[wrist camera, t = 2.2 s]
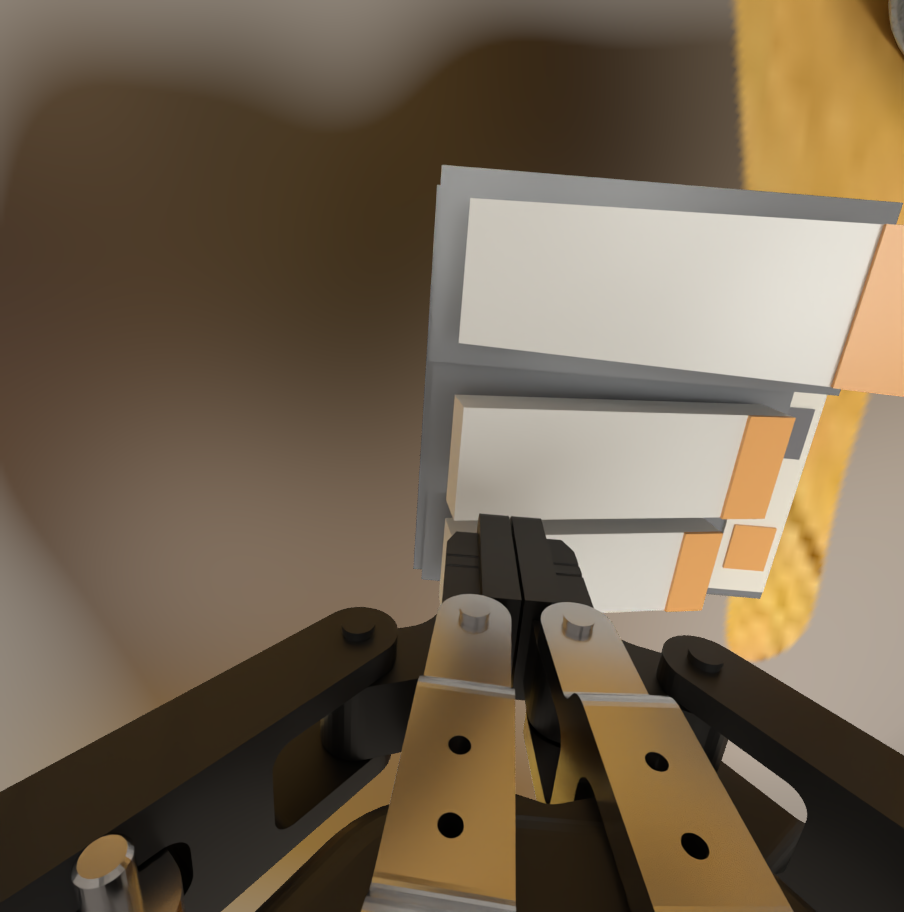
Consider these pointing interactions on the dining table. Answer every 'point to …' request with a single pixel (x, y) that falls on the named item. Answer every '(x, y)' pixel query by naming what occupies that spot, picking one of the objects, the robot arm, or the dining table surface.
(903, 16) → the ceramic mug
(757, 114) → the dining table surface
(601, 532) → the block
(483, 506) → the middle rocker
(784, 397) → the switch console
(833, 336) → the front rocker
